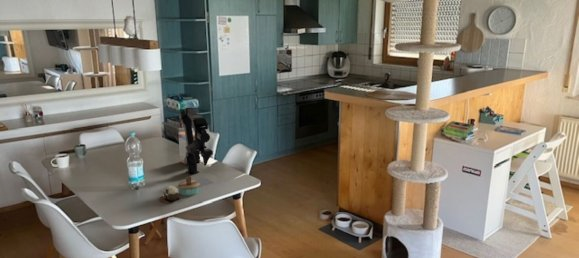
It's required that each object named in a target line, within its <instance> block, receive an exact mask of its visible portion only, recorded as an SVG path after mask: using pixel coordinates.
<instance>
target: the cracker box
mask: <svg viewBox="0 0 579 258" xmlns="http://www.w3.org/2000/svg"><path fill="white" fill-rule="evenodd" d="M193 139H194V140H195V134H193ZM178 144H179V145H178V146H179V147H178V148H179V161H180V163H182V164H184V165H186V164H185V163H184V159H185V156H186V152H187V150H186V146H187V142H186V136H185V131H180V132H178Z"/></svg>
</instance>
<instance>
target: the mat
mask: <svg viewBox="0 0 579 258" xmlns="http://www.w3.org/2000/svg"><path fill="white" fill-rule="evenodd" d="M194 180H195V181H198V182H199V183H200V186H199V188H200V187H204V186H207V185H211V184H215V181H212V180H211V179H208V178H207V177H205V176H203V177H198V178H195V179H194Z"/></svg>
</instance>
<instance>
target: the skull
mask: <svg viewBox="0 0 579 258" xmlns="http://www.w3.org/2000/svg"><path fill="white" fill-rule="evenodd" d="M179 196H180V193H179V188H177V187H176V186H174V185H169V186H167V187H166V188H165V190H164V192H163V194H162V195H161V196H160V197H159V201H160V202H161V203H164V204H173V203H174V202H176V201H180V198H179Z"/></svg>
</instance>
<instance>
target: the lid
mask: <svg viewBox="0 0 579 258" xmlns="http://www.w3.org/2000/svg"><path fill="white" fill-rule="evenodd" d="M199 186H200V183H199V182H198V181H195V179H192V177H191V176H186V177H185V180H182V181H180V182H179V183H178V184H177V187H178V189H179V188H180V189H185V190H189V189H195V188H197V187H199ZM199 188H200V187H199Z"/></svg>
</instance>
